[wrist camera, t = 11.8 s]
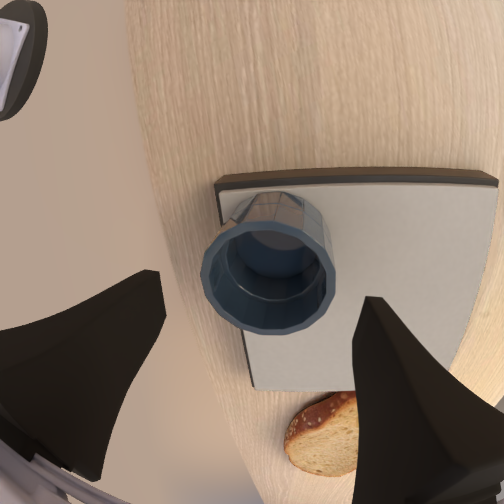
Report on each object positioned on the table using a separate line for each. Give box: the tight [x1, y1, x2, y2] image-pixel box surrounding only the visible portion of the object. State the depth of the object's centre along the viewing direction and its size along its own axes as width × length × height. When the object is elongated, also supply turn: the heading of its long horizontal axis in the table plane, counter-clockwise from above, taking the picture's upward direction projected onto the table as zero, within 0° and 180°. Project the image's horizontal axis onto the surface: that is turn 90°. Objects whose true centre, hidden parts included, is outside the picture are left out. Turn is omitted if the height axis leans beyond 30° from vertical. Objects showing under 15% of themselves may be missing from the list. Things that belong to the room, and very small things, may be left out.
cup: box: [200, 191, 336, 336], centre depth 14 cm, size 6×6×4 cm
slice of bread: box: [284, 390, 359, 477], centre depth 27 cm, size 18×18×4 cm
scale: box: [214, 167, 499, 392], centre depth 19 cm, size 17×17×3 cm
